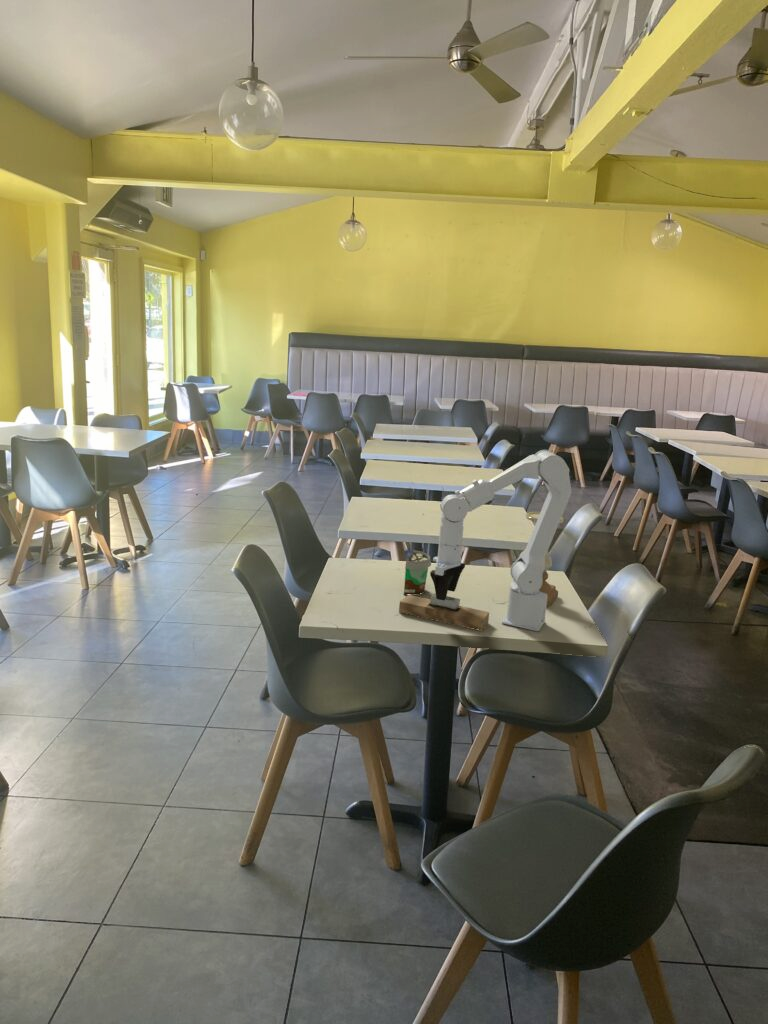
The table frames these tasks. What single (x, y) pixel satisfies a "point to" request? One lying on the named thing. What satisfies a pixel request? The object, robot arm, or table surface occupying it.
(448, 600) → the grey block
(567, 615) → the table surface
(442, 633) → the table surface
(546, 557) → the candle holder
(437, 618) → the brown slotted holder
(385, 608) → the table surface
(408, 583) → the food container
